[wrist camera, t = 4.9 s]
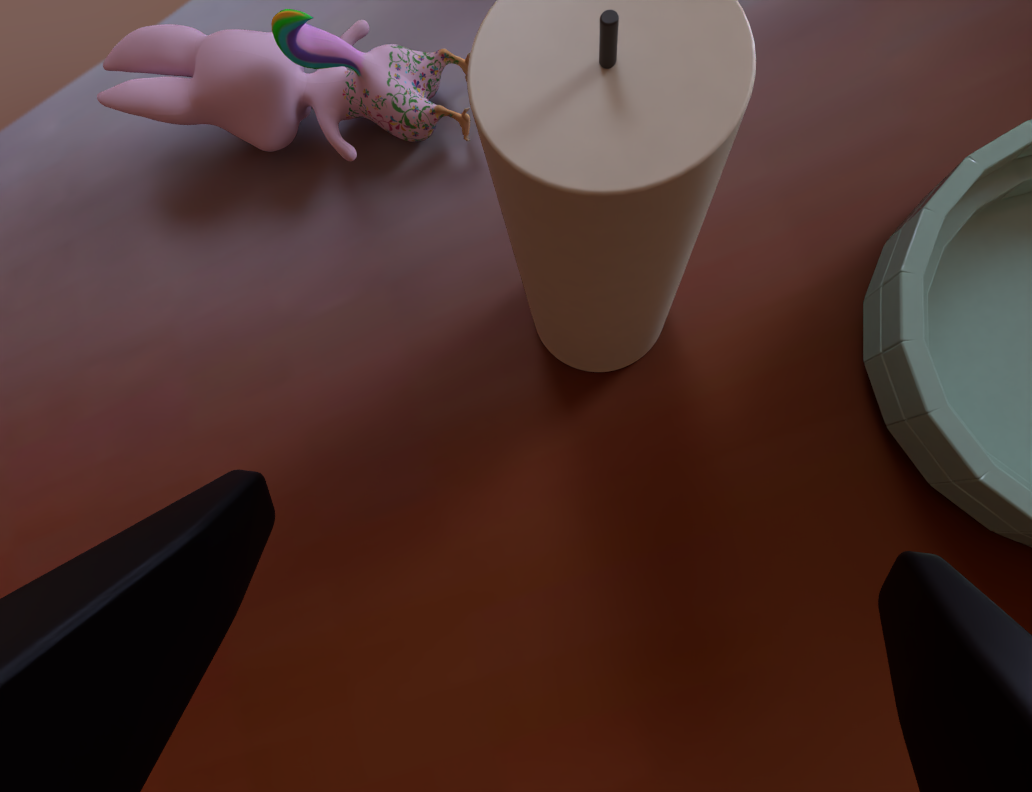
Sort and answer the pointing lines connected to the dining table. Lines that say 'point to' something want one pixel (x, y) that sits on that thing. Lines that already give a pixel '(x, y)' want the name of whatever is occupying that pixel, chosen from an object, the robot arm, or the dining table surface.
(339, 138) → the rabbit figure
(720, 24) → the candle
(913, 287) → the candle dish
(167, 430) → the dining table surface
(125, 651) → the robot arm
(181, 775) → the dining table surface
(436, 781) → the dining table surface
